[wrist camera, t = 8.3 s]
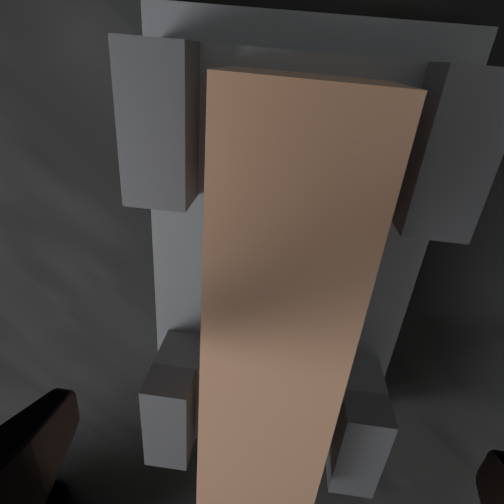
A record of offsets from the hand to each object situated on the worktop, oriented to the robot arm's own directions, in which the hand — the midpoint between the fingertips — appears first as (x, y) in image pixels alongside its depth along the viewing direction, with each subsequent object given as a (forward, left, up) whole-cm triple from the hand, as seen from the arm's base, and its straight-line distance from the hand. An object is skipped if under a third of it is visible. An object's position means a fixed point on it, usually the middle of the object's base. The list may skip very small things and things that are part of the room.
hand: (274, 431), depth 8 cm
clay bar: (0, 0, -5) cm, 5 cm away
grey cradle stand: (0, 0, -8) cm, 8 cm away
